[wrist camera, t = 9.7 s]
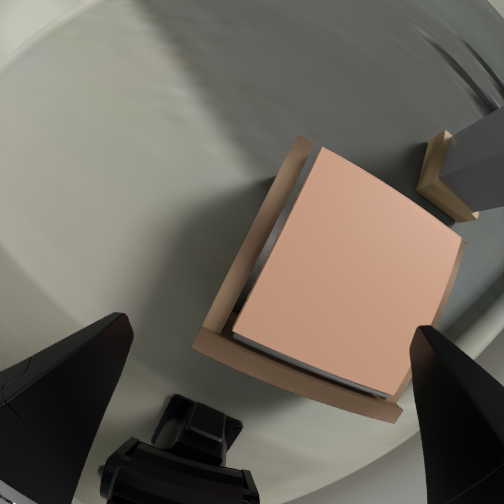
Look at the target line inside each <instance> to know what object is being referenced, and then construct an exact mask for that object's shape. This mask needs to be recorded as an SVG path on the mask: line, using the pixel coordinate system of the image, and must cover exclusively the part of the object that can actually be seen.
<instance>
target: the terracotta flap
mask: <svg viewBox="0 0 504 504" xmlns="http://www.w3.org/2000/svg"><path fill="white" fill-rule="evenodd" d="M461 239H462V238H461V237H459V236H458V235H457V234H456V233H454V232H453V231H452V230H451V229H449V228H448V227H447V226H446V225H444V224H443V223H442V222H440V221H439V220H438V219H436V218H435V217H434V216H432V215H431V214H429V213H428V212H427V211H425V210H424V209H423V208H421V207H420V206H418V205H417V204H415V203H414V202H413V201H411V200H410V199H408V198H407V197H405V196H404V195H402V194H401V193H399V192H398V191H396V190H395V189H393V188H392V187H390V186H389V185H387V184H386V183H384V182H382V181H381V180H379V179H378V178H376V177H374V176H373V175H371V174H369V173H368V172H366V171H365V170H363V169H361V168H359V167H358V166H356V165H354V164H353V163H351V162H349V161H347V160H346V159H344V158H342V157H340V156H339V155H337V154H335V153H333V152H331V151H329V150H328V149H326V148H324V147H322V148H321V150H320V151H319V152H318V154H317V156H316V158H315V160H314V162H313V164H312V167H311V169H310V171H309V173H308V175H307V177H306V179H305V181H304V183H303V185H302V187H301V190H300V192H299V194H298V196H297V198H296V200H295V202H294V204H293V206H292V208H291V210H290V212H289V214H288V216H287V218H286V221H285V223H284V225H283V227H282V229H281V231H280V233H279V235H278V237H277V239H276V241H275V243H274V245H273V247H272V249H271V251H270V253H269V255H268V257H267V259H266V261H265V263H264V265H263V267H262V269H261V271H260V273H259V275H258V277H257V279H256V281H255V283H254V285H253V287H252V289H251V291H250V293H249V295H248V297H247V299H246V301H245V303H244V305H243V307H242V309H241V311H240V313H239V315H238V317H237V319H236V321H235V323H234V325H233V330H232V331H234V332H235V333H234V335H233V338H235V339H237V340H239V341H241V342H244V343H246V344H248V345H250V346H252V347H255V348H257V349H259V350H261V351H264V352H266V353H268V354H270V355H273V356H275V357H277V358H280V359H282V360H284V361H287V362H289V363H292V364H294V365H296V366H299V367H301V368H304V369H306V370H309V371H311V372H314V373H317V374H319V375H322V376H324V377H327V378H330V379H332V380H335V381H338V382H340V383H343V384H346V385H349V386H352V387H354V388H357V389H360V390H363V391H366V392H369V393H372V394H375V395H378V396H381V397H384V398H387V397H389V396H390V394H391V395H394V394H395V393H396V391H397V389H398V388H399V386H400V384H401V383H402V381H403V379H404V377H405V375H406V374H407V372H408V370H409V368H410V366H411V363H410V355H409V348H410V344H411V341H412V339H413V336H414V333H415V330H416V328H417V327H418V326H419V325H431V323H432V321H433V319H434V316H435V314H436V311H437V309H438V307H439V304H440V302H441V299H442V296H443V294H444V291H445V288H446V286H447V283H448V280H449V277H450V274H451V272H452V269H453V266H454V262H455V259H456V256H457V253H458V249H459V246H460V243H461Z"/></svg>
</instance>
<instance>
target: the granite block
mask: <svg viewBox="0 0 504 504" xmlns="http://www.w3.org/2000/svg"><path fill="white" fill-rule="evenodd" d="M438 178H439V179H440V180H441V181H442V182H443V183H444V184H445V185H446V186H447V187H448V188H449V189H451V190H452V191H453V192H454V193H455V194H456V195H457V196H458V197H459V198H460V199H461V200H462V201H463V202H464V203H465V204H466V205H467V206H468V207H469V208H470V209H471V210H472V211H473V212H478V211H483V210H488V209H492V208H497V207H502V206H504V106H503V107H501V108H499V109H498V110H496V111H494V112H492V113H491V114H489V115H487V116H486V117H484V118H482V119H481V120H479V121H477V122H476V123H474V124H472V125H470V126H469V127H467V128H465V129H464V130H462V131H460V132H459V133H457V134H455V135H454V136H452V137H451V138H450V141H449V145H448V148H447V152H446V155H445V159H444V162H443V165H442V168H441V171H440V174H439V177H438Z"/></svg>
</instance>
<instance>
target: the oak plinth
mask: <svg viewBox="0 0 504 504" xmlns="http://www.w3.org/2000/svg"><path fill="white" fill-rule="evenodd" d="M451 137H452V135H451V134H449V133H448V132H447V131H446V130H445V131H443V132H442V133H440V134H439V135H437V136H436V137H434V138H433V139H431V140H429V142H428V146H427V150H426V154H425V158H424V161H423V165H422V169H421V172H420V176H419V179H418V183H417V186H416V189H415V191H417V192H418V193H419V194H421V195H422V196H423V197H425V198H426V199H428V200H429V201H430V202H432V203H433V204H434V205H436V206H437V207H438V208H440V209H441V210H442V211H444V212H445V213H446V214H447V215H449V216H450V217H451V218H452V219H454V220H455V221H456V222H457V223H459V222H465V221H471V220H476V219H478V214H479V211H478V212H473V211H472V210H471V209H470V208H469V207H468V206H467V205H466V204H465V203H464V202H463V201H462V200H461V199H460V198H459V197H458V196H457V195H456V194H455V193H454V192H453V191H452V190H451V189H449V188H448V187H447V186H446V185H445V184H444V183H443V182H442V181H441V180H440V179H439V178H438V177H439V174H440V171H441V168H442V165H443V162H444V159H445V155H446V152H447V148H448V145H449V141H450V138H451Z"/></svg>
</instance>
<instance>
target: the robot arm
mask: <svg viewBox="0 0 504 504" xmlns="http://www.w3.org/2000/svg"><path fill="white" fill-rule="evenodd" d="M133 338H134V333H133V330H132V327H131V324H130V322H129V319H128V316H127V315H126V314H125V313H120V312H114V313H112V314H110V315H108V316H106V317H104V318H102V319H100V320H98V321H96V322H95V323H93V324H91V325H89V326H87V327H85V328H83V329H81V330H79V331H77V332H76V333H74V334H72V335H70V336H68V337H66V338H64V339H62V340H61V341H59V342H57V343H55V344H53V345H51V346H49V347H47V348H46V349H44V350H42V351H40V352H38V353H36V354H34V355H33V356H31V357H29V358H27V359H25V360H23V361H21V362H19V363H17V364H15V365H13V366H11V367H9V368H7V369H5V370H3V371H1V372H0V504H71V502H72V499H73V496H74V493H75V490H76V487H77V484H78V481H79V479H80V476H81V472H82V470H83V467H84V464H85V462H86V459H87V456H88V453H89V451H90V448H91V446H92V443H93V441H94V438H95V435H96V433H97V430H98V428H99V425H100V423H101V421H102V418H103V416H104V413H105V411H106V409H107V406H108V404H109V402H110V399H111V397H112V395H113V392H114V390H115V388H116V386H117V383H118V381H119V379H120V376H121V374H122V371H123V368H124V365H125V362H126V359H127V356H128V353H129V350H130V347H131V344H132V341H133ZM409 355H410V363H411V371H412V381H413V391H414V398H415V404H416V409H417V415H418V421H419V427H420V433H421V440H422V447H423V455H424V464H425V473H426V486H427V504H504V387H503V386H502V385H501V384H500V383H499V382H498V381H497V380H496V379H495V378H493V377H492V376H491V375H490V374H489V373H488V372H486V371H485V370H484V369H483V368H482V367H481V366H480V365H478V364H477V363H476V362H475V361H474V360H473V359H471V358H470V357H469V356H468V355H467V354H465V353H464V352H463V351H462V350H461V349H459V348H458V347H457V346H456V345H455V344H453V343H452V342H451V341H450V340H449V339H447V338H446V337H445V336H444V335H442V334H441V333H440V332H439V331H437V330H436V329H435V328H434V327H432V326H431V325H419V326H418V327H417V328H416V330H415V333H414V336H413V339H412V341H411V344H410V348H409ZM175 399H179V402H178V401H176V400H175ZM235 425H239V427H235ZM242 428H243V424H242V422H241V421H239V420H236V419H234V418H231V417H229V416H226V415H225V414H224V413H222V412H220V411H217V410H215V409H213V408H210V407H208V406H206V405H204V404H201V403H199V402H194V401H192V400H190V399H188V398H185V397H183V396H181V395H179V394H174V395H173V396H172V398H171V400H170V402H169V404H168V406H167V408H166V410H165V412H164V414H163V417H162V419H161V421H160V423H159V425H158V427H157V429H156V431H155V433H154V435H153V437H152V440H151V442H152V444H153V445H154V446H151V445H149V444H146V443H143V442H141V441H139V439H136V438H134V437H131V438H130V439H129V440H128V441H127V442H125V443H124V444H123V445H121V446H120V447H119V448H118V449H117V450H116V451H115V452H114V453H113V454H112V455H111V456H109V457H108V459H107V461H106V464H105V465H102V466H100V467H99V469H98V475H99V477H100V479H101V485H100V496H101V498H103V499H105V500H107V503H106V504H260V498H259V493H258V490H257V488H256V485H255V483H254V480H253V478H252V475H251V472H250V471H249V470H244V469H242V470H237V469H232V468H228V467H225V466H226V453H227V451H228V450H229V448H230V447H231V445H232V444H233V442H234V441H235V439H236V438H237V436H238V435H239V433H240V432H241V430H242ZM155 440H156V441H155Z"/></svg>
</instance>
